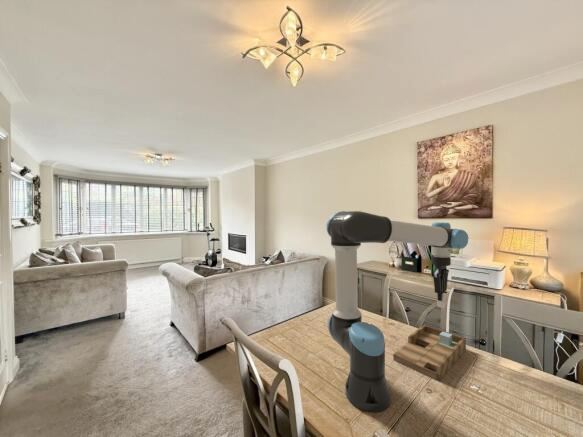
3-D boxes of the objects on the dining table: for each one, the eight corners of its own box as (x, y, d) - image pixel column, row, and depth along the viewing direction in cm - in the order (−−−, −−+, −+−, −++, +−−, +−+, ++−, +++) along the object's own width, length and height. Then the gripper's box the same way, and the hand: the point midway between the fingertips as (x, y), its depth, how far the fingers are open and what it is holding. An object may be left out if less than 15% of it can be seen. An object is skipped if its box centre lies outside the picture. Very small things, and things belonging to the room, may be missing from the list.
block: (449, 346, 111) (449, 337, 111) (439, 342, 114) (439, 334, 114) (452, 343, 114) (452, 334, 114) (442, 339, 117) (442, 331, 117)
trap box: (439, 381, 92) (439, 367, 91) (393, 360, 105) (393, 347, 105) (465, 349, 112) (465, 338, 112) (424, 335, 126) (424, 324, 126)
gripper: (444, 258, 105) (444, 313, 105) (455, 255, 113) (455, 306, 113) (426, 256, 111) (426, 308, 111) (437, 253, 119) (437, 301, 119)
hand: (440, 307), depth 112 cm, fingers closed
